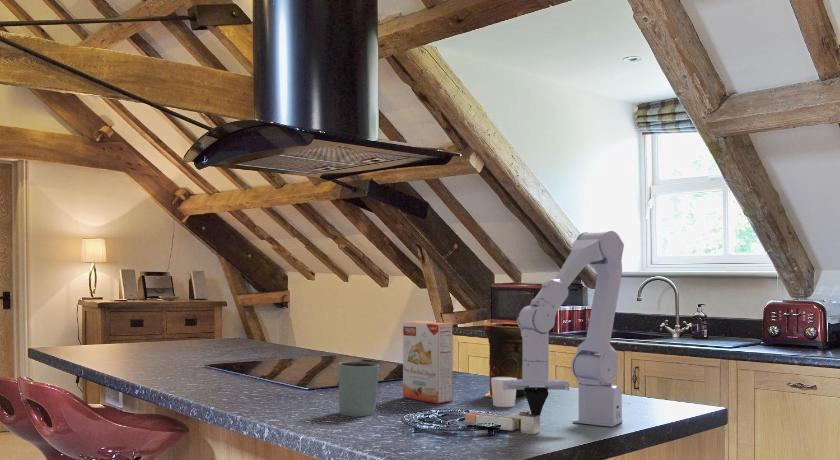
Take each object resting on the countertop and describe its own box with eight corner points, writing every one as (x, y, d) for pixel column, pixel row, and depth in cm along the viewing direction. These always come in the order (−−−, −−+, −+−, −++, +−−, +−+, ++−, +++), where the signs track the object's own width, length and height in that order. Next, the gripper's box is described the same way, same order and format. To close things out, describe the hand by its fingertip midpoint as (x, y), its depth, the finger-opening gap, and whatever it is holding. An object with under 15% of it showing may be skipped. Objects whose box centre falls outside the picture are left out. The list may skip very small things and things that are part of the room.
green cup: (340, 409, 200) (340, 360, 201) (380, 409, 200) (381, 361, 200) (334, 416, 190) (335, 365, 191) (377, 417, 190) (377, 366, 190)
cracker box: (401, 397, 219) (402, 320, 220) (417, 395, 223) (418, 320, 224) (437, 404, 209) (437, 323, 210) (453, 401, 213) (453, 322, 214)
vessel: (517, 389, 235) (518, 321, 236) (545, 398, 222) (545, 325, 223) (474, 392, 229) (475, 322, 229) (500, 401, 216) (501, 327, 217)
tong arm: (519, 428, 176) (519, 417, 177) (516, 429, 175) (516, 418, 175) (472, 422, 182) (473, 412, 183) (470, 423, 181) (470, 412, 181)
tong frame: (539, 431, 174) (539, 413, 174) (533, 434, 171) (533, 415, 171) (472, 423, 182) (472, 405, 182) (465, 426, 179) (465, 408, 180)
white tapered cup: (500, 402, 213) (500, 375, 214) (522, 405, 209) (522, 377, 209) (485, 405, 208) (485, 378, 208) (507, 408, 204) (507, 380, 204)
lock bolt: (529, 427, 178) (529, 410, 178) (526, 428, 176) (526, 412, 176) (509, 424, 180) (509, 408, 180) (505, 426, 179) (505, 409, 179)
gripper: (564, 358, 181) (564, 419, 180) (500, 358, 181) (500, 419, 180) (571, 362, 174) (571, 425, 173) (504, 361, 174) (504, 425, 173)
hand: (535, 422), depth 176 cm, fingers closed
